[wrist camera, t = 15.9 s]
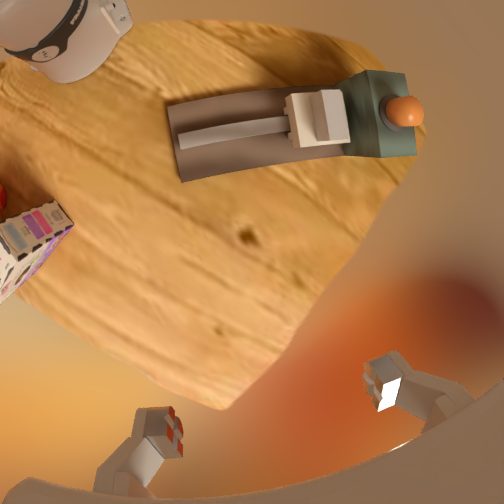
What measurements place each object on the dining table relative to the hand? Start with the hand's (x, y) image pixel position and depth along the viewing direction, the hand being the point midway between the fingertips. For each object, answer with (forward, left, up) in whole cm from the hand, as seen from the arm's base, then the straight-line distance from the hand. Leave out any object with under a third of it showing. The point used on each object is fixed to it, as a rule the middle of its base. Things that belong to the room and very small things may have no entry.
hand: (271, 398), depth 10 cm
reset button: (-12, +22, -21) cm, 33 cm away
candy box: (-4, -31, -33) cm, 46 cm away
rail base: (-12, +10, -33) cm, 37 cm away
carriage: (-12, +14, -31) cm, 36 cm away
